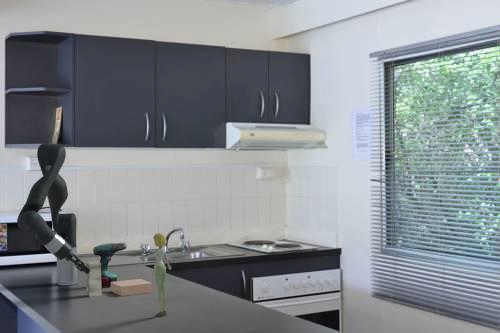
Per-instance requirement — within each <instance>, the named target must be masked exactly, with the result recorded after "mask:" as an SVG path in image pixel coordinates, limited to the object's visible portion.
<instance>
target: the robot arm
mask: <svg viewBox="0 0 500 333" xmlns="http://www.w3.org/2000/svg"><path fill="white" fill-rule="evenodd" d="M36 152H37V153H36V155H37V161H38V166H39V168H40V171H41V174H42V177H39V179H38V180H36V181H35V183H34V184H33V185H32V186H31V188H30V189H29V190H30V191H29V193H28V195H27V199H26V201H25V203H24V205H23V206H22V208H21V209H20V211H19V214H18V215H17V216H18V217H17V219H16V224H17V227H18V228H19V229H20V230H22V231H28V230H32V231H33V232H34V233H35V235H34V236H35V237H34V238H35V239H36V240H37V241H38V242H39V243H41V245H43V246H44V247H45V248H46V249H47V251H48V252H50V253H51V254H52V255H53V256H54V257H55V258H56V284H57V286H73V285H74V286H75V285H77V284H78V270H79V272H83V273H84V274H85V275H86V274H88V273H89V272H90V269H89V268H88V267H86V263H85V262H83V261H82V260H81V259H80V258H79V256H78V255H77V254H78V253H77V252H78V250H77V225H78V224H77V216H76V214H75V213H73V212H71V213H69V212H68V213H67V212H66V213H60V210H61V208H62V207H63V205H64V204H65V203H66V201H67V200H68V196H69V191H68V186H67V183H66V180H65V179H64V178H63V177H62V175H61V174H59V172H60V171H61V169H62V167H63V165H64V163H65V160H66V156H67V152H66V148H65V147H64V146H63V145H59V144H52V143H41V144H39V146H38V147H37V151H36ZM47 199H48V200H47ZM46 200H47V202H48V204H49V210H50V217H51V225H52V228H51V227H50V226H49V224H48V223H47V222H46V220H45V219H44V217H42V214H40V213H39V212H40V210H42V208H43V207H44V205H45V202H46ZM59 234H68V236H66V237H65V238H63V237H62V236H61V235H59Z"/></svg>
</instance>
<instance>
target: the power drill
mask: <svg viewBox="0 0 500 333" xmlns="http://www.w3.org/2000/svg"><path fill="white" fill-rule="evenodd" d="M127 247H128V245H127V243H125V242H108V243H104V244H103V243H102V244H99V245H96V246H94V247H93V249H92V252H93V254H94V255H95V256H97V257H98V256H99V257H100V260H99V262H100V263H101V288H111V282H116V281H118V275H117V274H114V273H111V272H109V270H108V269H109V263H110V262H111V261H112V260H113V259H112V257H113V256H114V255H115V254H116V253H117V252H121V251H124V250H126V249H127Z"/></svg>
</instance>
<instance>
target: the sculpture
mask: <svg viewBox="0 0 500 333" xmlns="http://www.w3.org/2000/svg"><path fill="white" fill-rule="evenodd" d="M153 241H154V246H156V247H159V248H158V249H157V250H156V251H155V252H154V253H153V256H154V258H155V260H154V264H153V269H152V270H151V271H150V272H151V276H154V277H155V284H156V289H157V294H158V304H159V307H160V311H159V312H158V313H156V314H154V316H155V317H164V316H167V312H166V311H167V310H166V306H167V292H166V291H165V282H166V279H167V278H166V277H167V269H168V270H170V271H171V270H172V265H171V264H170V263H169V258H168V256H167V253H166V250H165V247H164V246H166V244H168V243H167V242H168V240H167V239H166V236H165V235H164V233H161V232H158V233H156V234H155V233H154V236H153ZM163 260H164V261H165V262H166V264H167V266H166V264H164V262H163Z"/></svg>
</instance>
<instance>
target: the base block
mask: <svg viewBox="0 0 500 333" xmlns="http://www.w3.org/2000/svg"><path fill="white" fill-rule="evenodd" d="M110 292H112V293H114V294H116V295H118V296H120V297H124V296H125V297H126V296H133V295H142V294H150V293H151V294H152V293H153V282H150V281H147V280H145V279H142V278H137V279H126V280H119V281H118V280H117V281H116V282H111V287H110Z"/></svg>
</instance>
